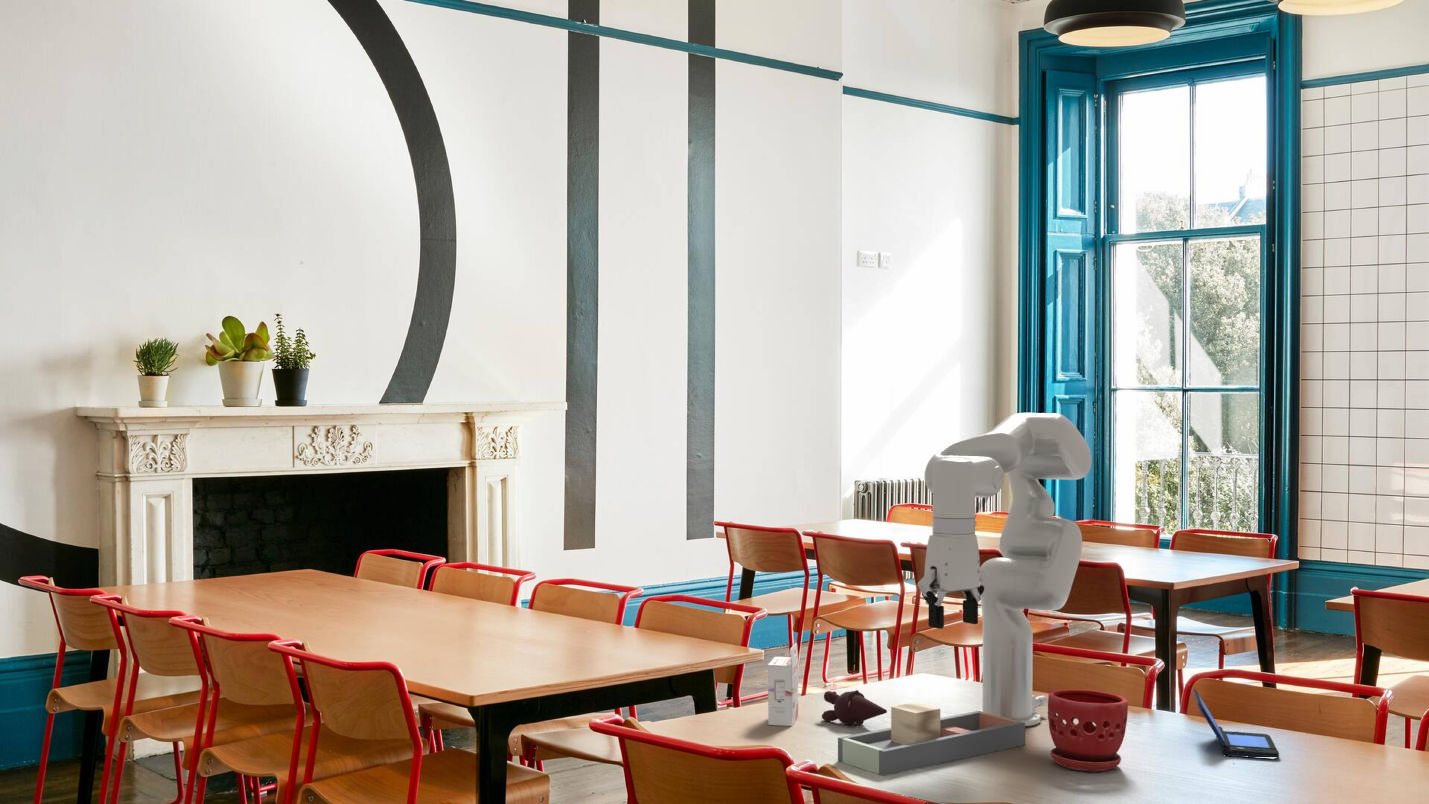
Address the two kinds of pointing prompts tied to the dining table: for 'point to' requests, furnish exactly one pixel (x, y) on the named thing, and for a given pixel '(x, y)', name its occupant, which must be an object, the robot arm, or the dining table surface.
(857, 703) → the gnome figurine
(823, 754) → the dining table surface
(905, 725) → the maple block
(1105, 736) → the plant pot
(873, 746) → the compartment tray
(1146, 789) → the dining table surface
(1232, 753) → the handheld game console
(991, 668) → the robot arm
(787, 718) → the ink cartridge box
